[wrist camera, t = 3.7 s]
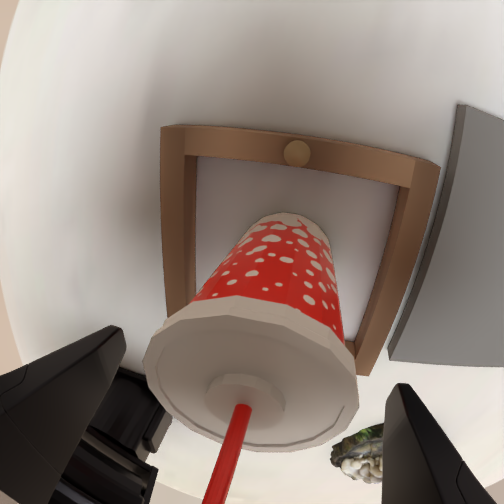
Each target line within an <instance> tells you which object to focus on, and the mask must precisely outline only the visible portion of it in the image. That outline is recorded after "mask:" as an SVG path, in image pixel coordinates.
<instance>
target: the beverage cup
mask: <svg viewBox="0 0 504 504" xmlns="http://www.w3.org/2000/svg"><path fill="white" fill-rule="evenodd" d="M142 362H143V366H144V371H145V375H146V379H147V383H148V387H149V388H150V390H151V391H152V392H153V394H154V395H155V397H156V398H157V399H158V401H159V402H160V403H161V405H162V406H163V407H164V409H165V410H166V411H167V412H168V413H170V414H171V415H172V416H174V417H175V418H176V419H177V420H179V421H180V422H181V423H183V424H184V425H185V426H187V427H188V428H189V429H191V430H192V431H194V432H196V433H199V434H201V435H203V436H205V437H207V438H209V439H212V440H214V441H216V442H218V443H221V444H222V447H221V450H220V453H219V456H218V459H217V462H216V464H215V467H214V470H213V473H212V476H211V479H210V482H209V484H208V487H207V490H206V493H205V496H204V499H203V501H202V504H225V500H226V497H227V494H228V491H229V488H230V484H231V481H232V478H233V475H234V471H235V468H236V465H237V461H238V458H239V455H240V451H241V449H244V450H249V451H254V452H294V451H299V450H303V449H307V448H311V447H315V446H319V445H322V444H324V443H326V442H327V441H329V440H330V439H332V438H334V437H335V436H337V435H338V434H340V433H342V432H343V431H345V430H346V429H347V427H348V426H349V424H350V422H351V421H352V419H353V417H354V415H355V414H356V412H357V410H358V409H359V394H358V385H357V377H356V370H355V362H354V357H353V355H352V354H351V353H350V352H349V350H348V349H347V348H346V347H345V341H344V333H343V325H342V317H341V310H340V303H339V296H338V289H337V283H336V277H335V270H334V264H333V258H332V253H331V249H330V244H329V240H328V238H327V237H326V235H325V234H324V233H323V231H322V230H321V229H320V227H319V226H318V225H317V224H315V223H314V222H312V221H310V220H309V219H307V218H305V217H304V216H302V215H297V214H291V213H284V212H282V213H277V214H273V215H268V216H264V217H263V218H262V219H260V220H259V221H258V222H256V223H255V224H253V225H252V226H251V227H250V228H249V229H248V230H247V232H246V233H245V234H244V235H243V237H242V238H241V239H240V240H239V242H238V243H237V244H236V245H235V247H234V248H233V249H232V250H231V252H230V253H229V254H228V255H227V257H226V258H225V259H224V260H223V262H222V263H221V264H220V265H219V267H218V268H217V269H216V270H215V272H214V273H213V274H212V275H211V277H210V278H209V279H208V281H207V282H206V283H205V284H204V286H203V287H202V288H201V289H200V291H199V292H198V293H197V294H196V296H195V297H194V298H193V300H192V301H191V302H190V303H189V305H187V306H185V307H184V308H182V309H181V310H179V311H178V312H176V313H175V314H173V315H172V316H170V317H169V318H167V319H166V320H165V322H164V324H163V326H162V327H161V328H160V329H158V330H157V331H156V332H155V333H154V335H153V336H152V338H151V340H150V343H149V346H148V348H147V351H146V353H145V356H144V358H143V361H142Z"/></svg>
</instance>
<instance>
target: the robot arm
mask: <svg viewBox="0 0 504 504" xmlns="http://www.w3.org/2000/svg"><path fill="white" fill-rule="evenodd" d="M125 351H126V342H125V338H124V333H123V330H122V329H121V328H120V327H117V326H114V325H110V326H107V327H105V328H103V329H101V330H99V331H97V332H95V333H93V334H90V335H88V336H86V337H84V338H82V339H80V340H78V341H76V342H74V343H71V344H69V345H67V346H65V347H63V348H61V349H59V350H57V351H54V352H52V353H50V354H48V355H46V356H44V357H42V358H39V359H37V360H35V361H33V362H31V363H29V365H28V364H26V365H24V366H22V367H20V368H18V369H16V370H13V371H11V372H9V373H6V374H3V375H1V376H0V504H17V503H19V504H149V502H150V498H151V494H152V491H153V487H154V484H155V480H156V477H157V473H158V468H156V467H154V466H150V465H149V464H147V463H145V461H146V459H147V457H148V455H149V453H150V452H151V453H156V452H157V450H158V448H159V446H160V444H161V442H162V440H163V438H164V436H165V434H166V432H167V429H168V427H169V426H170V425H171V423H172V415H171V414H170V413H168V412H167V411H166V410H165V409H164V407H163V406H162V405H161V403H160V402H159V401H158V399H157V398H156V397H155V395H154V394H153V392H152V391H151V390H150V388H149V387H148V383H147V379H146V377H144V376H141V375H138V374H135V373H133V372H130V371H127V370H124V369H122V368H119V365H120V363H121V360H122V358H123V356H124V354H125ZM462 460H463V459H462V457H461V456H460V454H459V453H458V451H457V450H456V448H455V447H454V446H453V444H452V443H451V441H450V440H449V438H448V437H447V436H446V434H445V433H444V431H443V430H442V428H441V427H440V426H439V424H438V423H437V421H436V420H435V419H434V417H433V416H432V414H431V413H430V412H429V410H428V409H427V407H426V406H425V405H424V403H423V402H422V401H421V399H420V398H419V397H418V395H417V394H416V392H415V391H414V390H413V388H412V387H411V386H410V385H409V384H406V383H397V384H396V385H395V387H394V388H393V390H392V392H391V393H390V395H389V397H388V398H387V401H386V406H385V421H384V432H383V444H382V504H497V503H496V502H495V501H494V500H493V498H492V497H491V496H490V495H489V494H488V492H487V491H486V490H485V489H484V488H483V486H482V485H481V484H480V482H479V481H478V480H477V479H476V477H475V476H474V474H473V473H472V472H471V470H470V469H469V467H468V466H467V464H466V463H465V461H462Z"/></svg>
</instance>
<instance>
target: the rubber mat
mask: <svg viewBox="0 0 504 504" xmlns="http://www.w3.org/2000/svg"><path fill="white" fill-rule="evenodd" d="M388 355H389V360H390V361H400V362H411V363H422V364H436V365H451V366H472V367H504V120H502V119H499V118H497V117H495V116H492V115H490V114H488V113H485V112H483V111H480V110H478V109H475V108H473V107H470V106H467V105H458V106H457V115H456V122H455V129H454V135H453V141H452V147H451V153H450V158H449V163H448V168H447V173H446V177H445V182H444V186H443V190H442V195H441V199H440V203H439V207H438V210H437V214H436V218H435V221H434V225H433V228H432V232H431V235H430V239H429V242H428V245H427V248H426V251H425V254H424V258H423V261H422V264H421V266H420V269H419V272H418V275H417V278H416V281H415V283H414V286H413V289H412V292H411V294H410V297H409V299H408V302H407V304H406V307H405V309H404V312H403V314H402V317H401V319H400V322H399V324H398V326H397V329H396V331H395V333H394V335H393V338H392V340H391V342H390V344H389V347H388Z"/></svg>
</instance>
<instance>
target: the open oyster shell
mask: <svg viewBox="0 0 504 504" xmlns="http://www.w3.org/2000/svg"><path fill="white" fill-rule="evenodd" d="M383 432H384V423H383V424H379V425H374V426H371V427H368V428H365V429H362V430H360V431H359V432H358V433H356V434H354V435H352V436H349V437H346V438H343V440H342V441H341V442H339V443H337V444H335V445H333V446H332V448H333V451H332V452H331V458H330V460H331V463H332V465H333V466H335V467H340V468H341V471H342V472H343V473H344V474H345V475H347V476H349V477H351V478H352V479H353V480H358V479H363V481H364V482H366V483H369V484H370V483H374V484H378V483H380V482H382V444H383Z"/></svg>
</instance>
